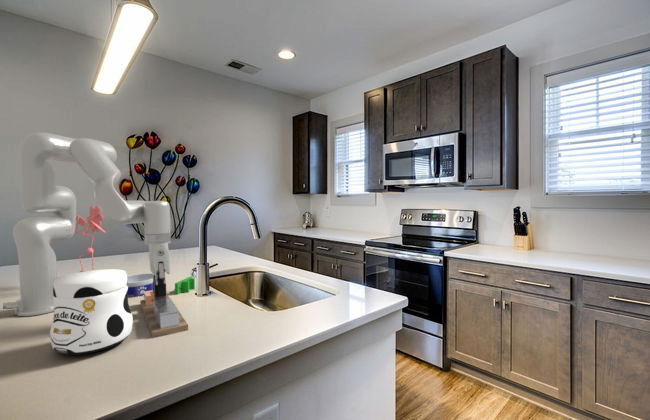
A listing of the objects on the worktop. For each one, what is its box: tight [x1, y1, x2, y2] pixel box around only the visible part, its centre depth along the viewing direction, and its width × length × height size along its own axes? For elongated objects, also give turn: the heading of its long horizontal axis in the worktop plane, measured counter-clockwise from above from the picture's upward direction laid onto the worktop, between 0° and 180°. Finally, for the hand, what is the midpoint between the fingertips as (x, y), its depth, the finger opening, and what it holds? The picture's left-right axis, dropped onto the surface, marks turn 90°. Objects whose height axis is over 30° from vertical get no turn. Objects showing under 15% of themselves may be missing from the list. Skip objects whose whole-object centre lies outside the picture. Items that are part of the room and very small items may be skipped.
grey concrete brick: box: [153, 297, 180, 329], centre depth 97 cm, size 15×5×4 cm, turn 34°
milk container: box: [49, 268, 134, 356], centre depth 84 cm, size 17×17×18 cm
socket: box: [143, 290, 169, 305], centre depth 115 cm, size 7×7×3 cm
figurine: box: [74, 204, 107, 272], centre depth 146 cm, size 15×26×35 cm, turn 58°
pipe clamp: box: [174, 276, 196, 295], centre depth 133 cm, size 11×4×5 cm, turn 173°
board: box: [139, 295, 189, 339], centre depth 104 cm, size 34×9×2 cm, turn 34°
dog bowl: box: [127, 272, 153, 299], centre depth 131 cm, size 15×15×6 cm
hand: (159, 294), depth 106 cm, fingers closed on bar, 4 cm apart
